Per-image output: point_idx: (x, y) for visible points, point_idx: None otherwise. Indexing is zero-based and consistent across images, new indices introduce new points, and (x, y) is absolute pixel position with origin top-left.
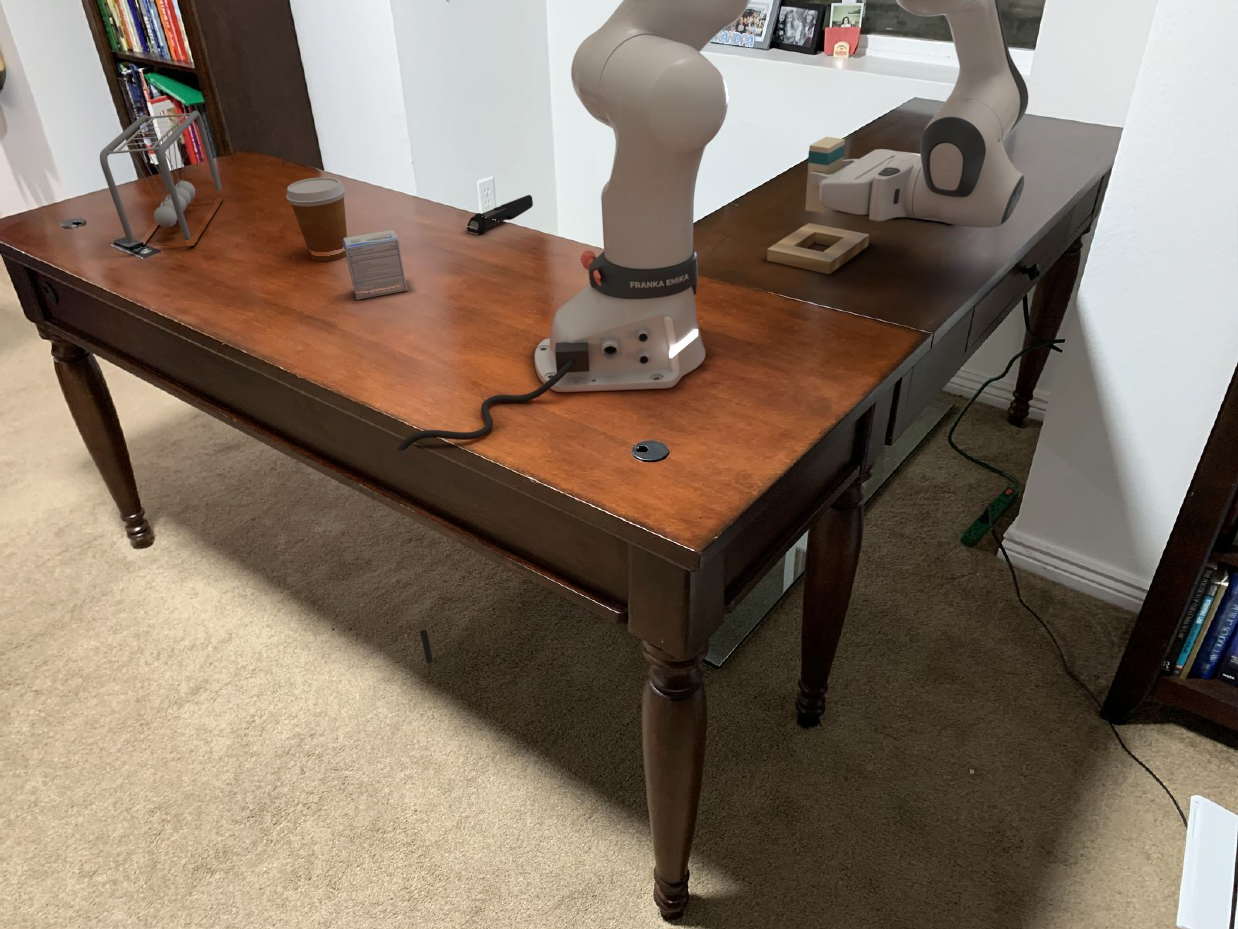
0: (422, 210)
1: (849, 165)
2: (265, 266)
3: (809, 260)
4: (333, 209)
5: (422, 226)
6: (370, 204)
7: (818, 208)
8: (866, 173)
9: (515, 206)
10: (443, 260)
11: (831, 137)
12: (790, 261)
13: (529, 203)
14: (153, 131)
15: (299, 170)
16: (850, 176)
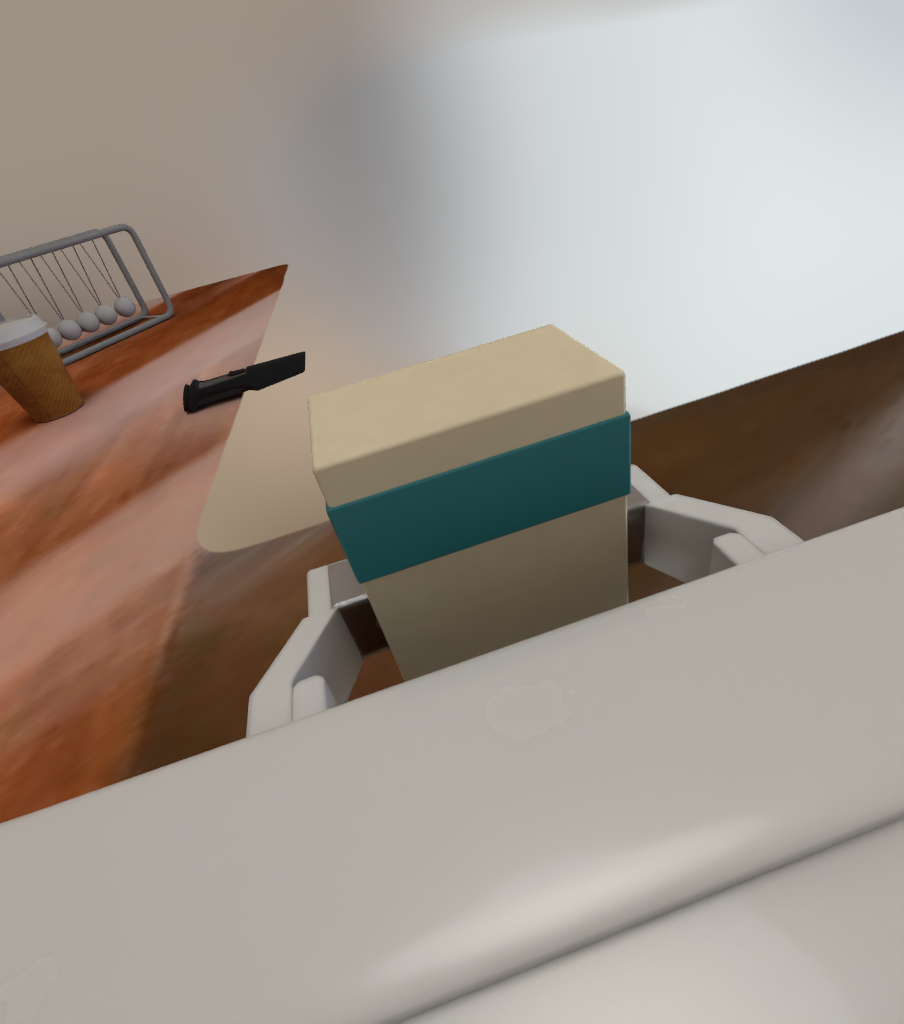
0: (236, 354)
1: (503, 663)
2: (8, 416)
3: None
4: (1, 362)
5: (187, 382)
6: (226, 336)
7: None
8: (454, 1019)
9: (263, 371)
10: (77, 457)
11: (566, 336)
12: None
13: (295, 366)
14: (82, 247)
15: (276, 284)
16: (136, 1004)
